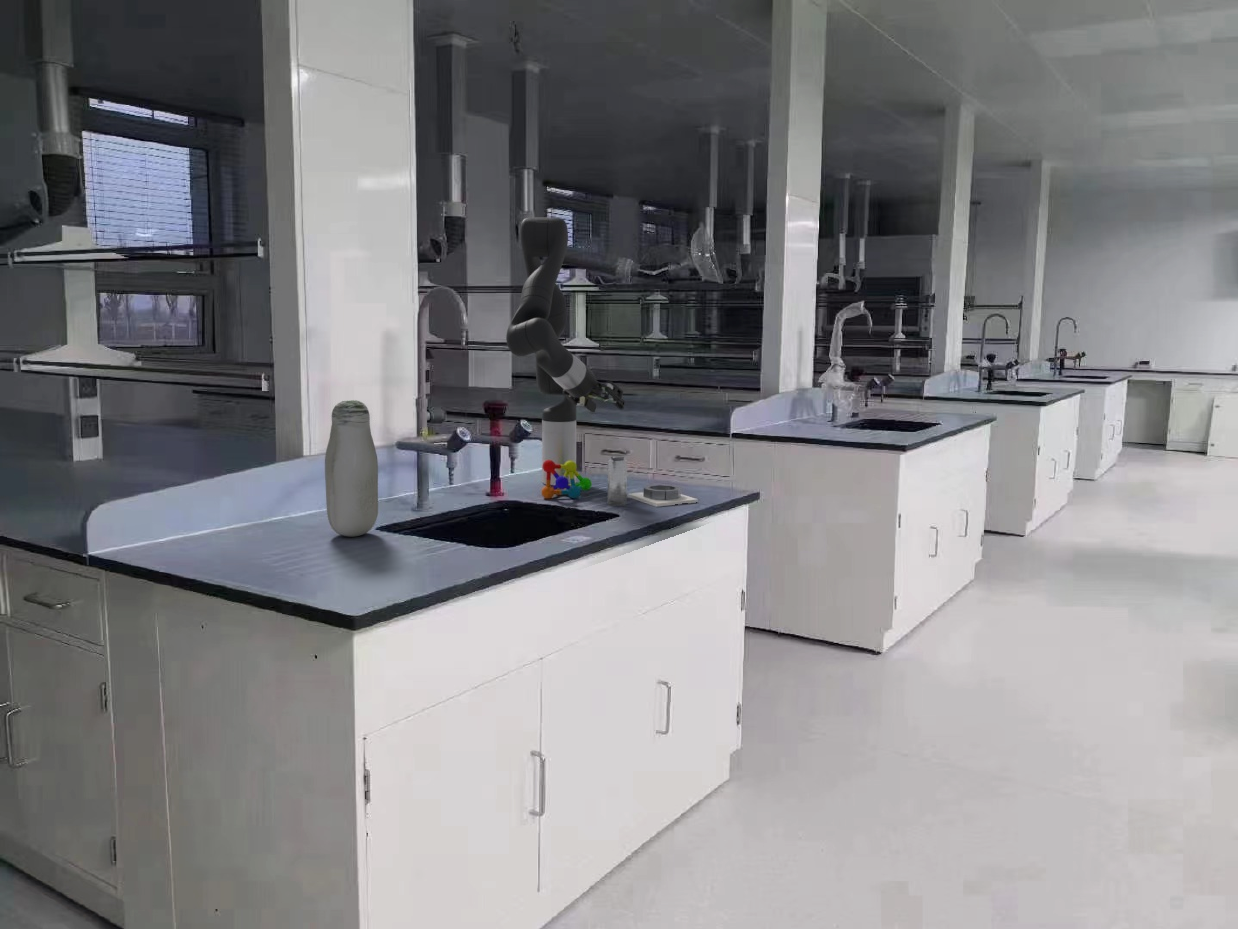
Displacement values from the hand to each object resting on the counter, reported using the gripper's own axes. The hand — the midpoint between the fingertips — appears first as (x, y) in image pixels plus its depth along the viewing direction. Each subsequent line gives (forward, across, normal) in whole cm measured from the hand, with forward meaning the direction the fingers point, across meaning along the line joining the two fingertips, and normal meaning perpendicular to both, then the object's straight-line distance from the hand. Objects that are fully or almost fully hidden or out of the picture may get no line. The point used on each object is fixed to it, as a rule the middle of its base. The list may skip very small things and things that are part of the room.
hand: (608, 407), depth 237 cm
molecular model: (+10, +14, +20) cm, 26 cm away
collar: (+21, -7, +15) cm, 27 cm away
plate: (+21, -7, +15) cm, 27 cm away
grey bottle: (-41, +24, +51) cm, 70 cm away
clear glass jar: (+11, -1, +21) cm, 24 cm away
